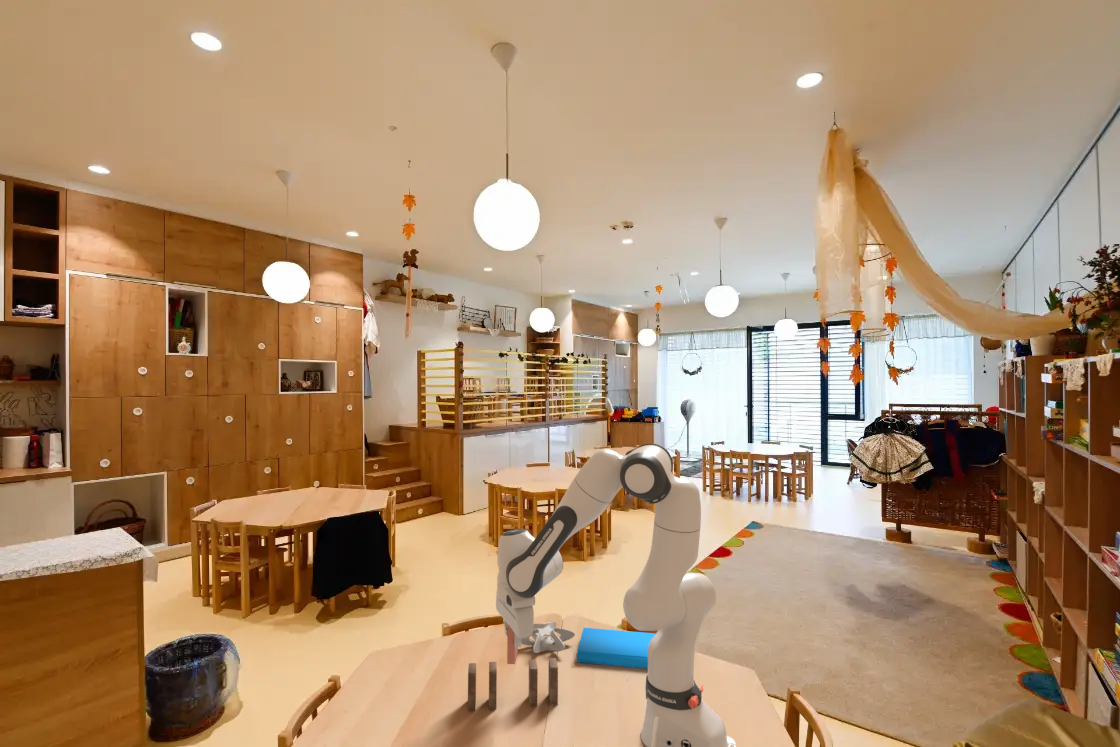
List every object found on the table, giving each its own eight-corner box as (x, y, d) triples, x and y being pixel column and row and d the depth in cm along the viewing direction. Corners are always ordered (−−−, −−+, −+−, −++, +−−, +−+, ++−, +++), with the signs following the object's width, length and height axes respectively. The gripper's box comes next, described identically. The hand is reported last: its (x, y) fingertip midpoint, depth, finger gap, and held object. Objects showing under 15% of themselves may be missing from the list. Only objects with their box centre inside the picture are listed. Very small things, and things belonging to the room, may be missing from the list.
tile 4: (535, 695, 150) (536, 659, 150) (537, 706, 145) (537, 668, 145) (528, 696, 150) (528, 659, 150) (529, 706, 145) (530, 669, 145)
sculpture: (512, 636, 185) (512, 617, 186) (569, 632, 189) (569, 613, 189) (517, 662, 168) (517, 641, 168) (580, 657, 172) (580, 636, 172)
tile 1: (475, 699, 148) (476, 662, 148) (475, 710, 143) (475, 672, 143) (468, 700, 148) (468, 663, 148) (467, 711, 143) (468, 673, 143)
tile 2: (496, 698, 149) (496, 661, 149) (496, 709, 144) (496, 671, 144) (488, 698, 149) (489, 662, 149) (488, 709, 144) (489, 671, 144)
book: (582, 627, 185) (657, 632, 181) (583, 640, 184) (657, 645, 181) (576, 651, 168) (658, 657, 164) (576, 665, 168) (658, 671, 164)
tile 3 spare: (517, 654, 150) (517, 618, 150) (514, 664, 145) (514, 626, 145) (510, 654, 150) (510, 618, 150) (507, 663, 145) (507, 626, 145)
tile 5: (555, 694, 151) (555, 657, 151) (557, 704, 146) (557, 667, 146) (548, 694, 151) (548, 658, 151) (550, 705, 146) (550, 667, 146)
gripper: (490, 578, 156) (490, 626, 155) (515, 605, 137) (514, 660, 137) (511, 574, 158) (511, 622, 158) (538, 601, 140) (537, 655, 139)
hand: (512, 640), depth 147 cm, fingers closed on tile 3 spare, 5 cm apart
